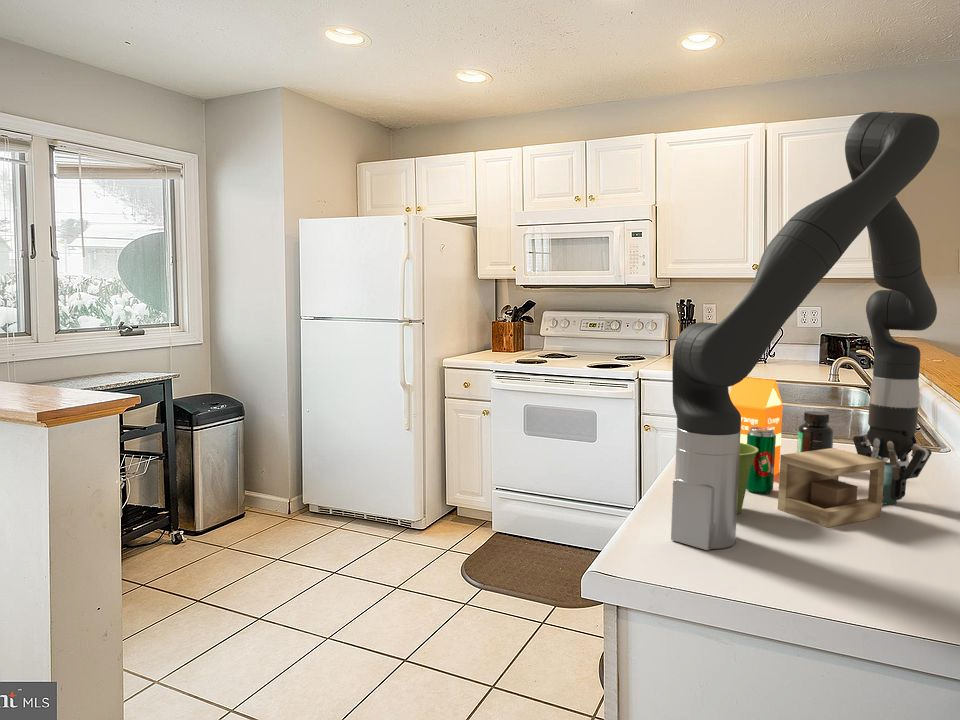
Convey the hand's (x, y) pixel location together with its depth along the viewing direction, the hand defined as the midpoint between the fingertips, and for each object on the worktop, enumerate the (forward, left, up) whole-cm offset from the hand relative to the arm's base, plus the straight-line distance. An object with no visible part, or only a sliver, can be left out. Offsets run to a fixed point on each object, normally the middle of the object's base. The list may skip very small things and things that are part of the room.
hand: (886, 495), depth 125 cm
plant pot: (-26, +19, -1) cm, 32 cm away
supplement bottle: (+15, +18, -1) cm, 23 cm away
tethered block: (-7, +3, -1) cm, 8 cm away
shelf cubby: (-14, +5, -1) cm, 15 cm away
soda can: (-10, +19, -1) cm, 22 cm away
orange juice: (+2, +26, -1) cm, 26 cm away
